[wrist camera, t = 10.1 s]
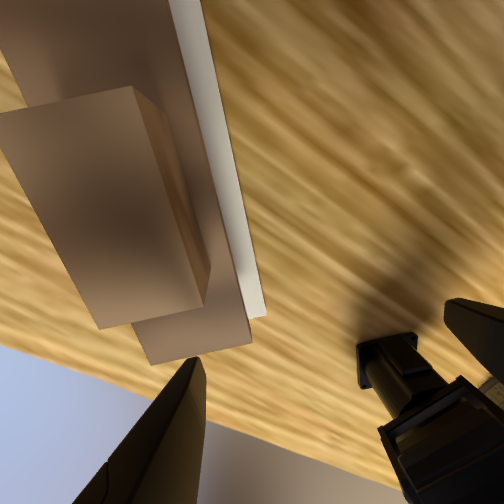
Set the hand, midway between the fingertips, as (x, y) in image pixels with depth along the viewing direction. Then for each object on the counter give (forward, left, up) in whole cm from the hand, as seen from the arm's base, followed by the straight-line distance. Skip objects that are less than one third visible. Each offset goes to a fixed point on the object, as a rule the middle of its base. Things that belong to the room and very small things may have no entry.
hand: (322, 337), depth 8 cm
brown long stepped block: (+5, +7, -8) cm, 11 cm away
